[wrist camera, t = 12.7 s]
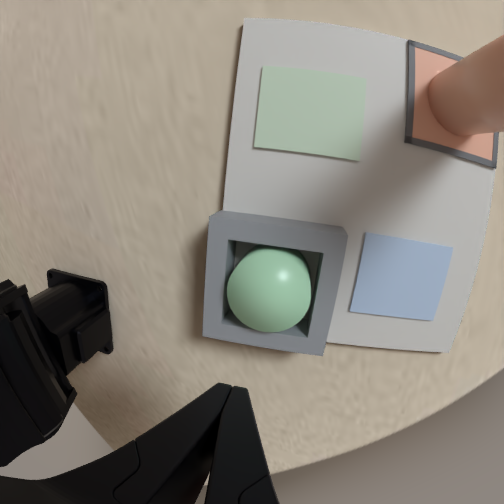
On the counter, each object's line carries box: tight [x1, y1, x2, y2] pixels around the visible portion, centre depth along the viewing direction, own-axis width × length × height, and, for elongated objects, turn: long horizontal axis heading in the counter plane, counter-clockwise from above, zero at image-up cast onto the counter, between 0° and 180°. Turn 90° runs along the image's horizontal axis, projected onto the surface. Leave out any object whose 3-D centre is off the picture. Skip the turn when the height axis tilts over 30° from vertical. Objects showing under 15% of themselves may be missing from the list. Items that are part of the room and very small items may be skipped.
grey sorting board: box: [202, 18, 499, 356], centre depth 16 cm, size 17×20×3 cm
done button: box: [227, 244, 311, 332], centre depth 18 cm, size 4×4×3 cm
